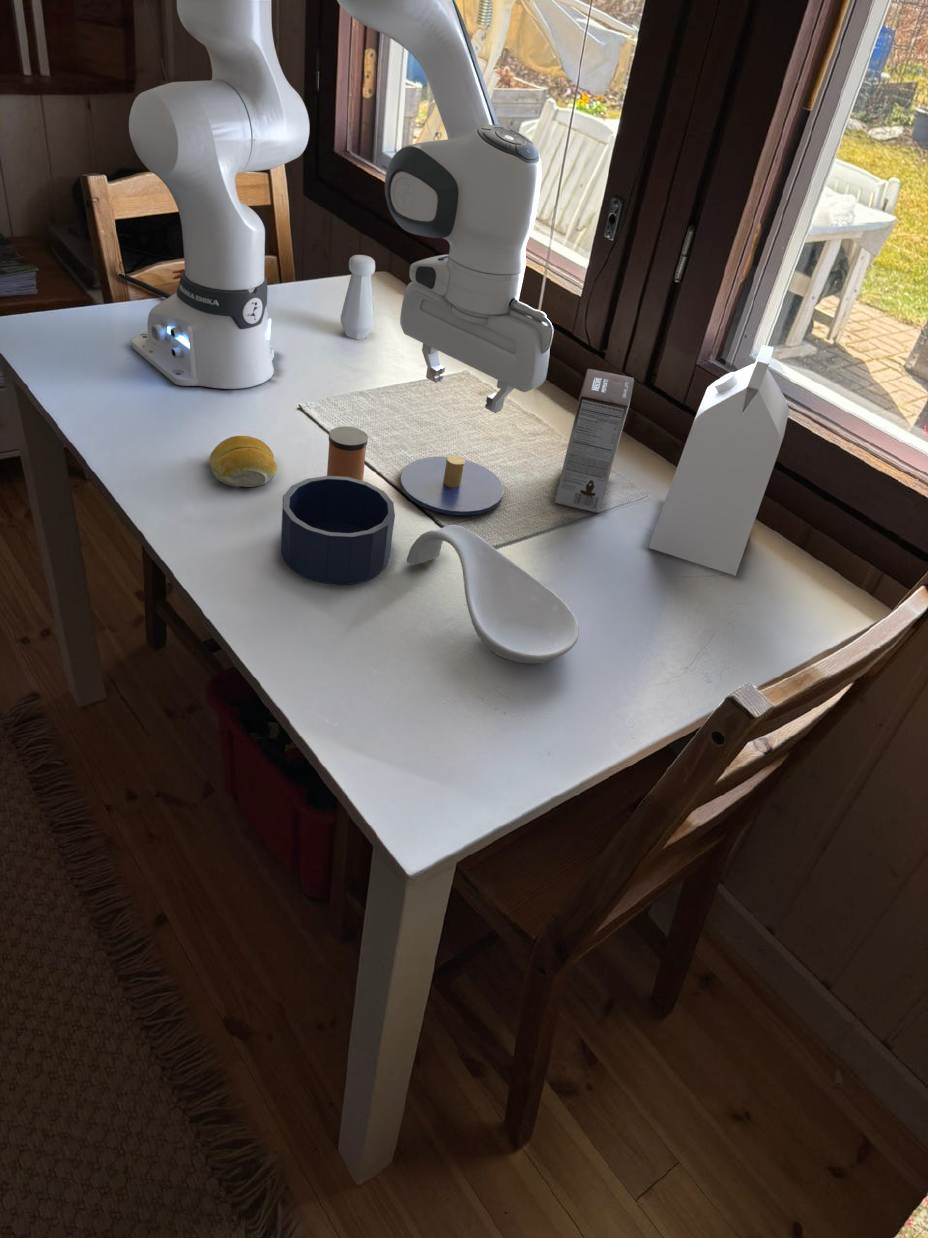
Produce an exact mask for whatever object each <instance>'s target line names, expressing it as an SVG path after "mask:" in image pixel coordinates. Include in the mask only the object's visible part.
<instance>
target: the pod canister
mask: <svg viewBox="0 0 928 1238" xmlns="http://www.w3.org/2000/svg"><path fill="white" fill-rule="evenodd" d="M368 437H369V436H368V434H367V433H366V432H365V431H364V430H362V429H360V428H357V427H353V426H348V425H347V426H336V427H334V428H332V429H331V430H330V431H329V433H328V453H327V454H328V455H327V469H326V476H339V477H350V478H354V479H357V480H361V481H364V474H365V473H364V472H365V462H366V453H367V452H366V451H367V445H368V440H369V438H368Z"/></svg>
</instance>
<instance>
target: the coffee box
mask: <svg viewBox="0 0 928 1238" xmlns="http://www.w3.org/2000/svg"><path fill="white" fill-rule="evenodd" d="M634 382H635V378H634V377H631V376H626V375H622V374H616V373H612V372H608V371H601V370H598V369H592V368H587V370H586V373H585V377H584V380H583V383H582V387H581V390H580V395H579V397H578V398H579V399H578V403H577V407H576V411H575V415H574V419H573V423H572V427H571V431H570V432H571V433H570V436H569V440H568V444H567V447H566V451H565V456H564V459H563V460H564V461H563V465H562V470H561V473H560V477H559V481H558V486H557V491H556V495H555V500H554V503H555V504H558V505H563V506H566V507H570V508H575V509H579V510H583V511H589V512H593V513H597V514H598V513H600V511H601V508H602V507H601V506H602V503H603V500H604V497H605V493H606V489H607V486H608V483H609V479H610V475H611V472H612V469H613V466H614V462H615V458H616V455H617V451H618V447H619V445H620V441H621V437H622V434H623V429H624V426H625V422H626V419H627V415H628V411H629V407H630V404H631V399H632V394H633V388H634Z"/></svg>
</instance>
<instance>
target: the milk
mask: <svg viewBox="0 0 928 1238" xmlns="http://www.w3.org/2000/svg"><path fill="white" fill-rule="evenodd" d="M774 349H775V347H773V346H770V345H766V344H762V345H761V347H760V350H759V352H758V354H757V357H756V359H755V362H753V363H751V364H749V365H747V366H745V367H742V368H740V369H738V370H736V371H731V372H728V373H726V374H724V375H723V376H721V377H720V378H718V379H716V380H714V382H712V383H710V385H708V386H707V388H706V389H705V392H704V395H703V397H702V400H701V402H700V405H699V407H698V409H697V412H696V415H695V417H694V420H693V423H692V425H691V428H690V430H689V433H688V436H687V438H686V442H685V444H684V447H683V449H682V453H681V456H680V458H679V461H678V464H677V465H676V469H675V472H674V475H673V478H672V480H671V483H670V486H669V489H668V492H667V494H666V497H665V499H664V502H663V505H662V507H661V509H660V513H659V517H658V519H657V522H656V524H655V528H654V529H653V533H652V536H651V537H650V540H649V544H648V547H647V548H648V549H650V550H651V549H652V550H654V551H658V552H661V553H664V554H666V555H670V556H673V557H676V558H679V559H683V560H685V561H689V562H692V563H694V564H697V565H700V566H704V567H707V568H711V569H714V570H715V571H716V570H717V571H719V572H723V573H726V574H729V575H732V576H736V575H737V572H738V569H739V567H740V564H741V561H742V559H743V555H744V552H745V549H746V547H747V544H748V541H749V538H750V536H751V532H752V529H753V527H754V523H755V521H756V518H757V515H758V513H759V509H760V506H761V504H762V501H763V498H764V496H765V492H766V490H767V487H768V484H769V481H770V478H771V475H772V472H773V470H774V467H775V464H776V461H777V458H778V456H779V453H780V449H781V447H782V446H781V445H782V443H783V440H784V437H785V431H786V427H787V422H788V419H789V413H790V408H789V405H788V402H787V399H786V397H785V396H784V394H783V392H782V390H781V388H780V387H779V385H778V384H777V382H776V380H775V378H774V377H773V375H772V374H771V372H770V370H769V365H770V362H771V359H772V356H773V351H774Z"/></svg>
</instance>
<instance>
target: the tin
mask: <svg viewBox="0 0 928 1238" xmlns="http://www.w3.org/2000/svg"><path fill="white" fill-rule="evenodd" d="M281 504H282V507H281V532H280V533H281V535H280V536H281V537H280V553H281V557H282V559H283V561H284V563H285V564H286V565H287V566H288V568H289V569H290V570H292V571H293V572H294V573H296V574H297V575H299V576H301V577H303V578H305V579H308V580H310V581H313V582H317V583H321V584H327V585H336V586H338V585H339V586H346V585H355V584H359V583H363V582H366V581H369V580H371V579H374V578H376V577H377V576H378V575H380V574H381V573H382V572H383V571H384V570H385V569H386V568H387V566H388V564H389V560H390V558H391V551H392V542H393V535H394V527H395V519H396V518H395V517H396V511H395V504H394V501H393V500H392V499H391V498H390V496H389V495H388V494H387V493H386V491H385V490H382V489H381V488H379V487H377V486H375V485H373V484H372V483H370V482H369V481H366V480H365V481H364V480H363V481H361V480H357V479H354V478H350V477H339V476H327V475H324V476H323V475H322V476H316V477H310V478H305V479H304V480H301V481H299V482H297V483H295V484H293V485H291V486H290V487H289V488H288V490H286V491H285V493H284V494H283V495H282V503H281Z"/></svg>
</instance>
